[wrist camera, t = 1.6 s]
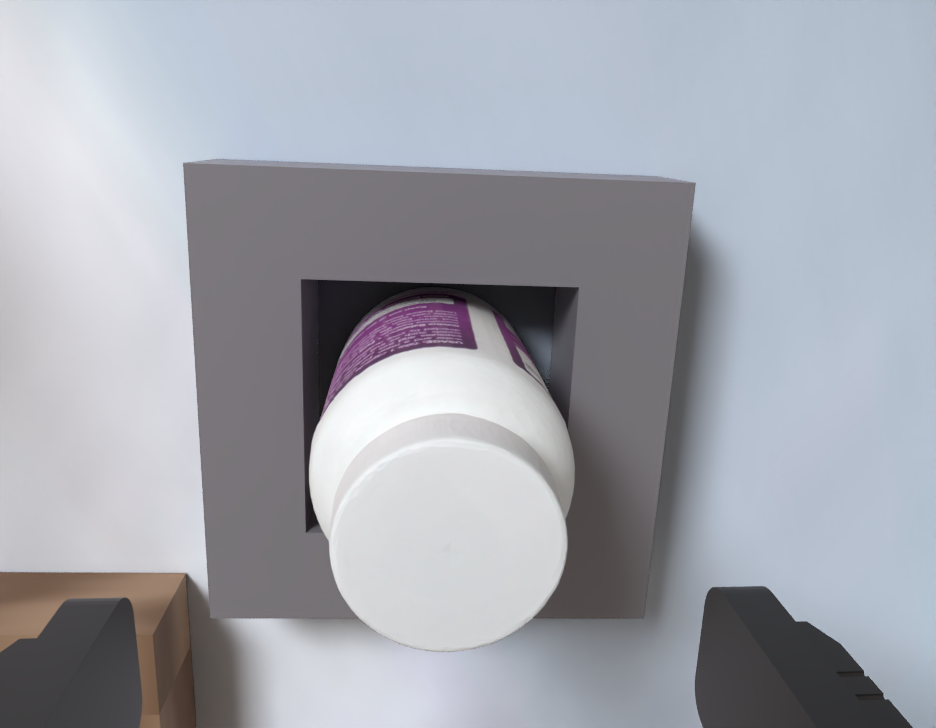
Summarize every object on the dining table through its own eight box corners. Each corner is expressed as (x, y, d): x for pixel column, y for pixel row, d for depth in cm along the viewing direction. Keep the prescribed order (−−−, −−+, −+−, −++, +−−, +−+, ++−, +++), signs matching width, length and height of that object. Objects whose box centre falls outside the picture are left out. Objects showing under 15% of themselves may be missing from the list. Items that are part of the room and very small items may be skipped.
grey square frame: (657, 176, 21) (696, 183, 18) (616, 560, 24) (643, 618, 21) (217, 159, 20) (182, 162, 17) (236, 558, 23) (210, 618, 20)
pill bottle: (316, 434, 22) (243, 647, 13) (370, 258, 21) (332, 355, 12) (494, 486, 23) (544, 721, 14) (556, 318, 22) (659, 454, 12)
